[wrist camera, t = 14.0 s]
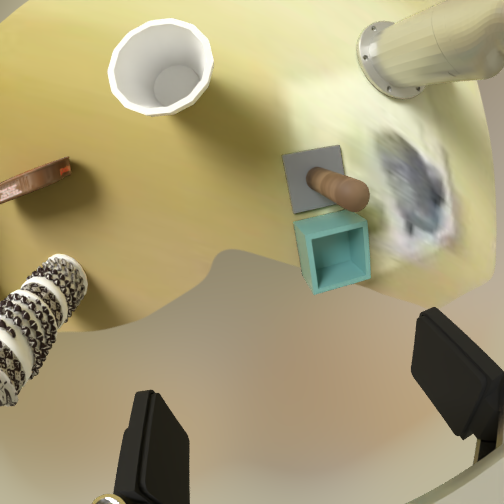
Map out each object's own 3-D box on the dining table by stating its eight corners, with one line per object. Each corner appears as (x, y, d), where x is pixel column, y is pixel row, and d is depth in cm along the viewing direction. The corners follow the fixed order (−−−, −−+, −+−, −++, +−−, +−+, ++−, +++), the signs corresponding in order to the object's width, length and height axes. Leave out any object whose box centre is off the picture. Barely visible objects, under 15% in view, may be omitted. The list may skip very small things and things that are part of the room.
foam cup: (226, 69, 33) (232, 39, 21) (195, 132, 36) (184, 129, 24) (160, 45, 31) (137, 8, 19) (129, 107, 33) (91, 96, 21)
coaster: (337, 144, 38) (339, 145, 38) (346, 200, 41) (347, 201, 41) (281, 155, 38) (282, 155, 38) (292, 212, 41) (293, 213, 41)
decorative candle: (32, 270, 39) (-57, 365, 16) (64, 240, 39) (-39, 337, 15) (66, 312, 43) (-2, 424, 20) (100, 287, 42) (30, 411, 19)
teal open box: (348, 208, 42) (367, 220, 36) (353, 261, 45) (370, 278, 39) (293, 221, 42) (304, 235, 36) (302, 275, 45) (313, 294, 39)
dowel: (326, 164, 39) (367, 177, 27) (330, 187, 40) (371, 208, 29) (303, 169, 38) (338, 183, 27) (308, 192, 40) (342, 215, 29)
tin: (78, 152, 35) (48, 158, 27) (82, 174, 36) (54, 185, 28) (4, 180, 34) (-29, 192, 26) (8, 199, 35) (-24, 214, 27)
